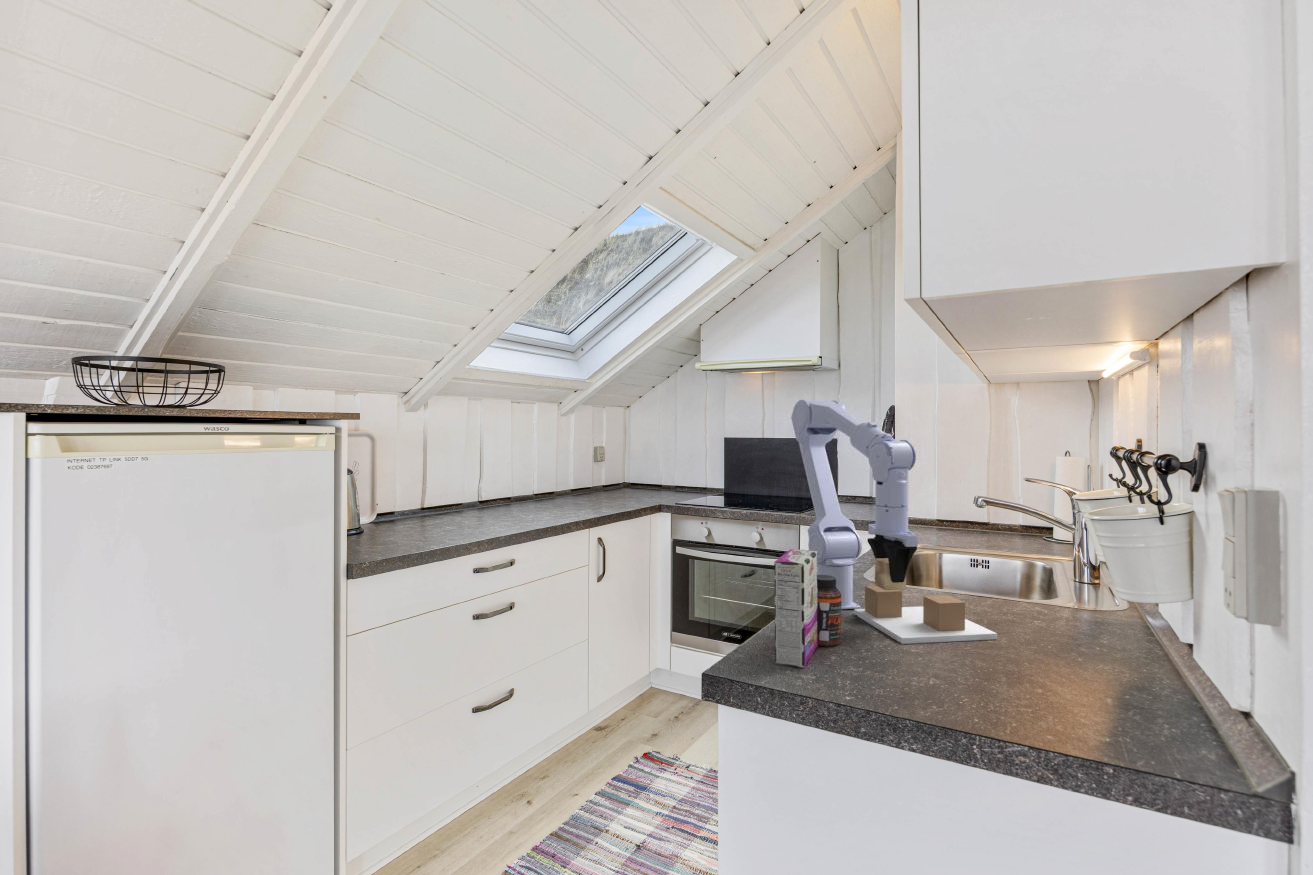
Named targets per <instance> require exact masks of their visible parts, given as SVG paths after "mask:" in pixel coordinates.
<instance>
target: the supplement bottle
mask: <svg viewBox="0 0 1313 875" xmlns="http://www.w3.org/2000/svg"><path fill="white" fill-rule="evenodd" d="M841 603H842V601H841V592H840V591H839V590H838V589H837V588H836V578H835V577H833V576H829V575H817V606H818V608H817V614H818V646H821V647H834V646H837V645H839V644H840V643H841V640H842V609H841Z"/></svg>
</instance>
